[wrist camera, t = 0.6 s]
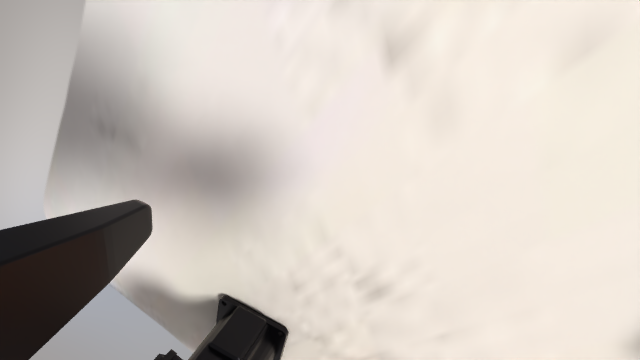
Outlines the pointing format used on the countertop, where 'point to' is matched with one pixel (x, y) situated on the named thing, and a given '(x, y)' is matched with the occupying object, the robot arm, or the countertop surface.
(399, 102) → the countertop surface
